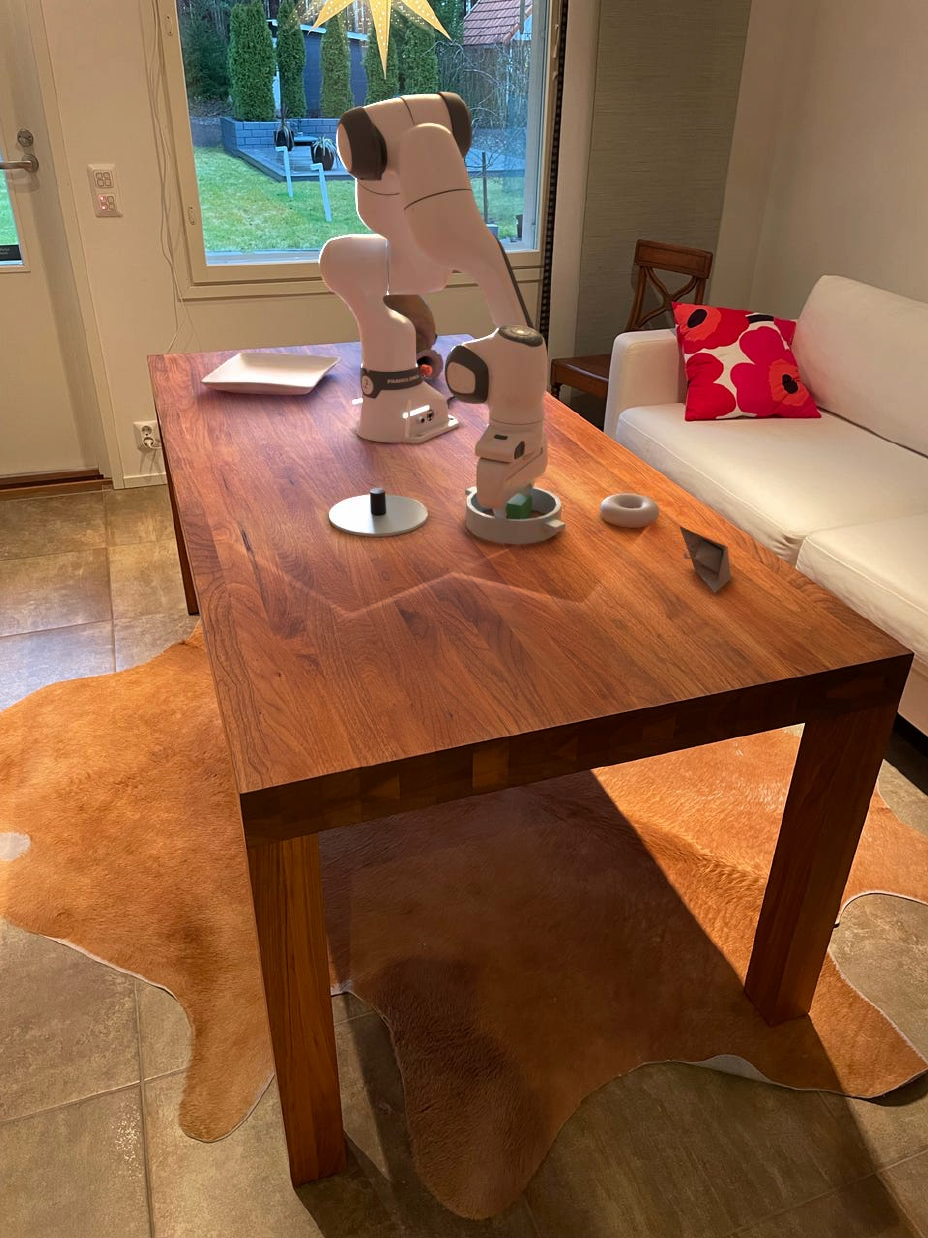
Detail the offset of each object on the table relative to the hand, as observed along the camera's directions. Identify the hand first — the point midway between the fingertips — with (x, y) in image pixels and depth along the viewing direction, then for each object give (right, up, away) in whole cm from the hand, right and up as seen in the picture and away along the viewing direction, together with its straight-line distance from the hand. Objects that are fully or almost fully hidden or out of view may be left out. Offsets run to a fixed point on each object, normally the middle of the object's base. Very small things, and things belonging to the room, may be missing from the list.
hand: (512, 514), depth 153 cm
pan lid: (-22, 0, +3) cm, 23 cm away
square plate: (-55, +41, +74) cm, 101 cm away
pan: (0, -2, +1) cm, 2 cm away
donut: (+20, -1, +4) cm, 21 cm away
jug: (-23, +47, +86) cm, 101 cm away
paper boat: (+28, -11, -13) cm, 32 cm away
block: (0, -2, +1) cm, 2 cm away
